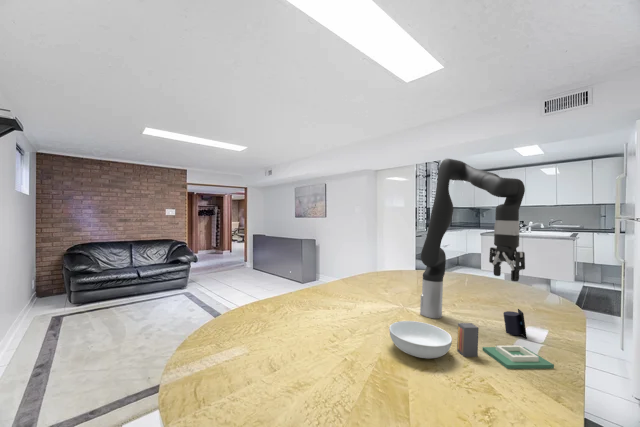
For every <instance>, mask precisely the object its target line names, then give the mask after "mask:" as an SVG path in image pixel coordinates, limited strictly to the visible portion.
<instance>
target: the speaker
mask: <svg viewBox="0 0 640 427" xmlns="http://www.w3.org/2000/svg"><path fill="white" fill-rule="evenodd" d="M503 320H504V326H505V334H508V335H511V336H520V335H521V336H523V337H524V338H525V340H527V339H528V336H527V330H526V323H525V322H526V321H525V315H524V312H523V311H522V310H521V309H520V308H517V312H516V311H504V312H503Z"/></svg>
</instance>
